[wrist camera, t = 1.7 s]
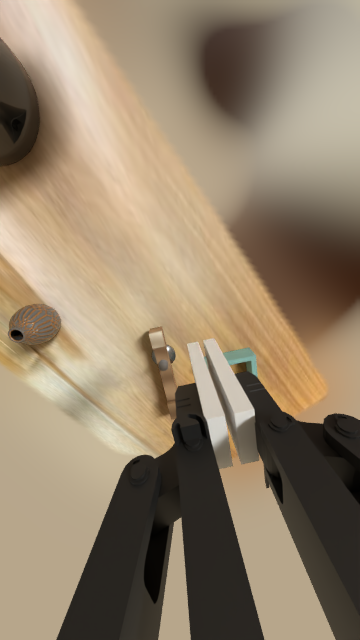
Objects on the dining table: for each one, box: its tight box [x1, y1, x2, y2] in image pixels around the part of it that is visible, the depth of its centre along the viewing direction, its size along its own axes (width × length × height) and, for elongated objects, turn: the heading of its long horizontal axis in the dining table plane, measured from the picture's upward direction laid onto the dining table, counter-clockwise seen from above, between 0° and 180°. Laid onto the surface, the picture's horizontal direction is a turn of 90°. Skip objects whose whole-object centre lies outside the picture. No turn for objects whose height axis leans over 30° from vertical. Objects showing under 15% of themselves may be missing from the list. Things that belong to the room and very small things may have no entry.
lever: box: [149, 327, 177, 420], centre depth 41 cm, size 20×2×4 cm, turn 11°
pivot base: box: [152, 345, 175, 365], centre depth 43 cm, size 5×5×1 cm
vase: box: [8, 304, 61, 345], centre depth 35 cm, size 7×7×9 cm
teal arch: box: [204, 348, 258, 378], centre depth 44 cm, size 13×10×4 cm
